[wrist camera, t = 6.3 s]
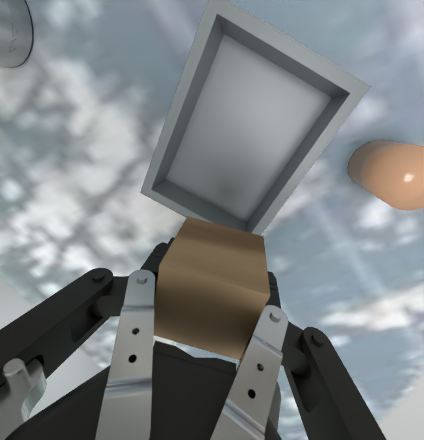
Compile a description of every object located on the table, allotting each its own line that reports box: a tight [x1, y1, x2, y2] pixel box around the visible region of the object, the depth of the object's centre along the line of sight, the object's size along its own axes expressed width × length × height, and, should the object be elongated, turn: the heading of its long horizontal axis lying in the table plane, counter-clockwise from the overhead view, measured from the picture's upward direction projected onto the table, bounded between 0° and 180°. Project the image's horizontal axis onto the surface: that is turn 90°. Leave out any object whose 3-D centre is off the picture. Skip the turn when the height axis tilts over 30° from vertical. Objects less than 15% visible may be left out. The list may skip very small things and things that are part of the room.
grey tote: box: [140, 0, 371, 235], centre depth 22 cm, size 14×18×5 cm
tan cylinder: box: [348, 140, 424, 210], centre depth 20 cm, size 5×5×7 cm
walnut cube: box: [154, 217, 270, 360], centre depth 13 cm, size 5×5×5 cm
